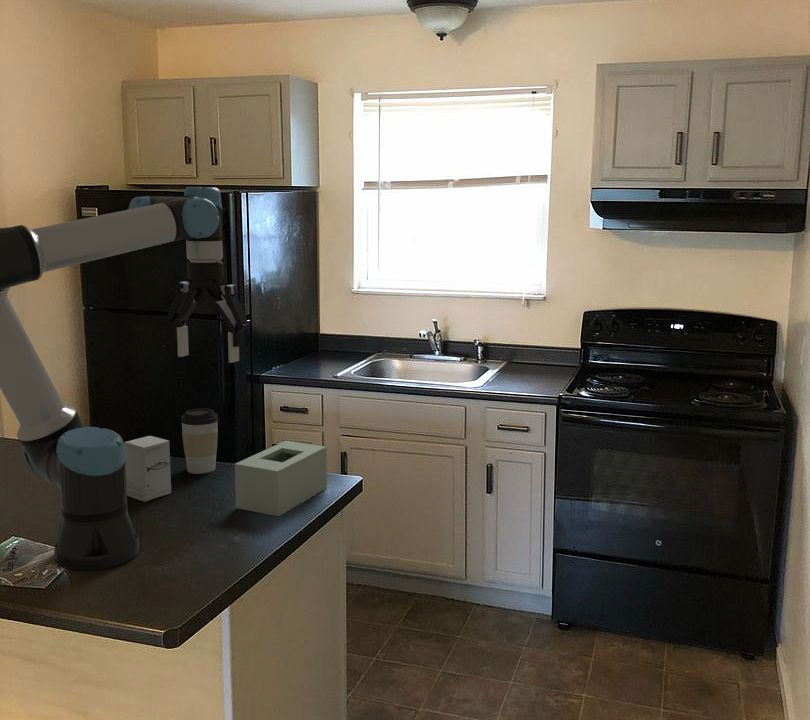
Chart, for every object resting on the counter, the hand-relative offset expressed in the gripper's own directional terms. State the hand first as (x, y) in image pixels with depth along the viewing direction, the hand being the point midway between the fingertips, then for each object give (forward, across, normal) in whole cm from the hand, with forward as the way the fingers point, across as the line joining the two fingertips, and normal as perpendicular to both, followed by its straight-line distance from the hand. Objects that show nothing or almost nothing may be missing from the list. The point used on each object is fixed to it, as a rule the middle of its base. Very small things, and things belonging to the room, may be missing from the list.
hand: (208, 358), depth 192 cm
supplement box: (+32, +14, +5) cm, 35 cm away
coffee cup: (+32, +15, -15) cm, 38 cm away
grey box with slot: (+32, -14, -7) cm, 35 cm away
